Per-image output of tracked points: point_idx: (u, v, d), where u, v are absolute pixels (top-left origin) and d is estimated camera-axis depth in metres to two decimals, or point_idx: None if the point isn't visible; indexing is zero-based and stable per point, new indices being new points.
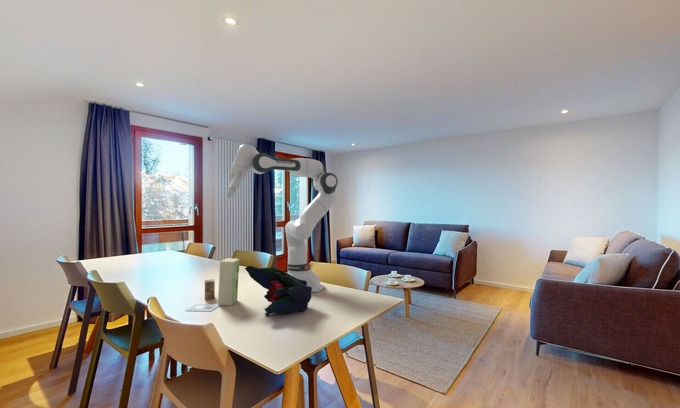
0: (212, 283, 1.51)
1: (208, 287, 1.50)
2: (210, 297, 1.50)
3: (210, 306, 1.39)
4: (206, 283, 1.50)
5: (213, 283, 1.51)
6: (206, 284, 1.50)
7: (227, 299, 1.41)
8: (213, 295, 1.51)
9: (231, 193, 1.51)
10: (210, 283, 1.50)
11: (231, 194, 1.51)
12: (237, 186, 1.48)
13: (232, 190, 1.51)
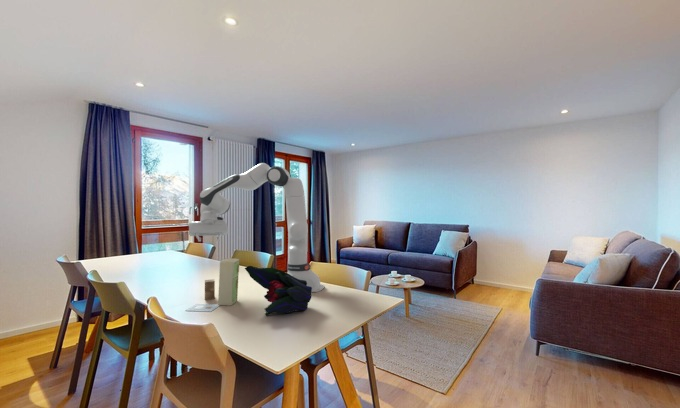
0: (212, 283, 1.51)
1: (208, 287, 1.50)
2: (210, 297, 1.50)
3: (210, 306, 1.39)
4: (206, 283, 1.50)
5: (213, 283, 1.51)
6: (206, 284, 1.50)
7: (227, 299, 1.41)
8: (213, 295, 1.51)
9: (197, 238, 1.62)
10: (210, 283, 1.50)
11: (198, 239, 1.62)
12: (189, 231, 1.62)
13: (196, 236, 1.63)
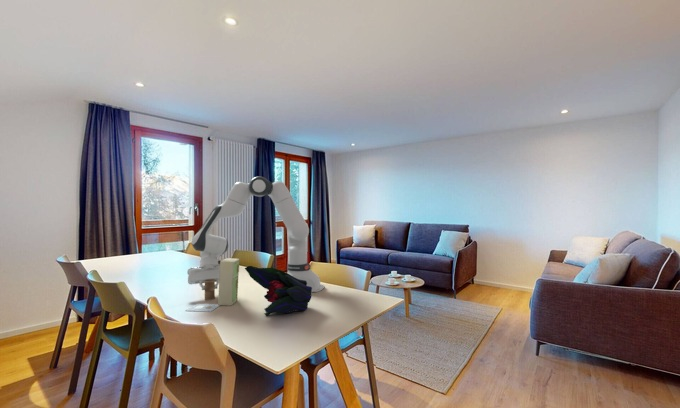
0: (212, 283, 1.51)
1: (208, 287, 1.50)
2: (210, 297, 1.50)
3: (210, 306, 1.39)
4: (206, 283, 1.50)
5: (213, 283, 1.51)
6: (206, 284, 1.50)
7: (227, 299, 1.41)
8: (213, 295, 1.51)
9: (201, 286, 1.51)
10: (210, 283, 1.50)
11: (201, 287, 1.51)
12: (188, 280, 1.50)
13: (199, 284, 1.52)
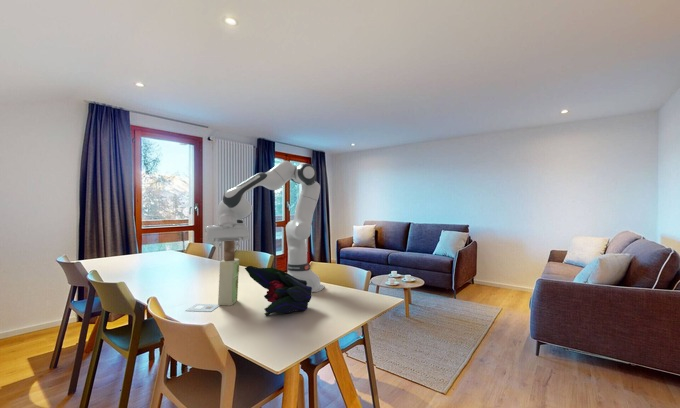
0: (232, 244, 1.43)
1: (228, 248, 1.43)
2: (230, 258, 1.43)
3: (210, 306, 1.39)
4: (226, 243, 1.42)
5: (233, 244, 1.44)
6: (227, 244, 1.42)
7: (227, 299, 1.41)
8: (233, 256, 1.44)
9: (217, 244, 1.43)
10: (230, 244, 1.43)
11: (217, 245, 1.43)
12: None
13: (215, 242, 1.44)
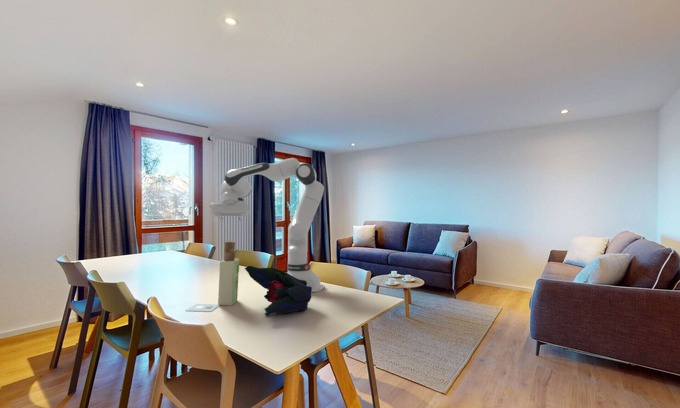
0: (232, 244, 1.43)
1: (228, 248, 1.43)
2: (230, 258, 1.43)
3: (210, 306, 1.39)
4: (226, 243, 1.42)
5: (233, 244, 1.44)
6: (227, 244, 1.42)
7: (227, 299, 1.41)
8: (233, 256, 1.44)
9: (219, 218, 1.61)
10: (230, 244, 1.43)
11: (220, 219, 1.61)
12: None
13: (218, 216, 1.62)
